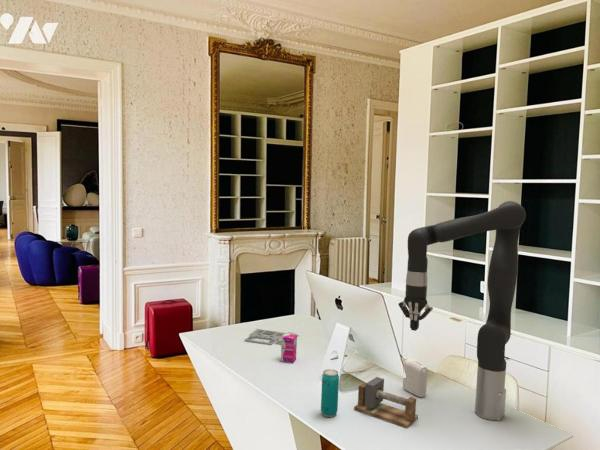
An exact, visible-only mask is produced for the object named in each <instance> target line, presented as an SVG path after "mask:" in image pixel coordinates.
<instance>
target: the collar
mask: <svg viewBox="0 0 600 450" xmlns="http://www.w3.org/2000/svg"><path fill="white" fill-rule="evenodd" d="M365 383H366V387H365V406H366V407H369V408H374V407H375V406H376V405H378V404H379V403H383V402H384V399H382V398H378V397H376V390H377V389H379V390H381V391H384V390H385V389H384V388H385V387H384V385H385V379H384V378H383V377H382V378H381V377H379V376H376V377H374V378H372V379H371V380H369V381H367V382H365Z"/></svg>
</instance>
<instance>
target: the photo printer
mask: <svg viewBox="0 0 600 450" xmlns="http://www.w3.org/2000/svg"><path fill="white" fill-rule="evenodd" d="M404 369H405V373H406V378H403V377H402V379H403V380H402V388H403V389H404V390H405V391H407V392H409V393H411V394H413V395H415V396H416V397H419V398H424V397H426V395H427V383H428V368H427V366H425V365H424V364H423V363H421V362H420V361H418V360H415V359H412V358H411V359H406V360H405V361H404V362H403V370H404Z"/></svg>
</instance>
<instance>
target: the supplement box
mask: <svg viewBox="0 0 600 450" xmlns="http://www.w3.org/2000/svg"><path fill="white" fill-rule="evenodd" d="M297 335H298V334H297ZM297 335H294V334H284V335H283V337H282V344H281V345H280V347H281V349H280V351H281V352H280V362H281V363H288V364H294V362H295V361H296V360H297V348H298V347H297V344H298V337H297Z"/></svg>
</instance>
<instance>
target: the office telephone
mask: <svg viewBox="0 0 600 450" xmlns="http://www.w3.org/2000/svg"><path fill="white" fill-rule="evenodd" d="M284 334H294V335H297V338H298V337H299V336H300V335H299V334H296V333H295V332H293V331H288V332H283V331H282V332H281V331H273V330H266V329H261V328H256V329H255V330H253V331H252V332H251V333H250V334H249V336H248V337H246V338H244V342H246V343H251V344H260V345H266V346H272V345H274V344H275V345H276V346H277V345H278V346H281V344H282V337H283V335H284ZM254 339H255V340H254ZM256 339H258V340H256ZM259 340H263V341H259ZM264 340H266V341H264Z"/></svg>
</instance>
